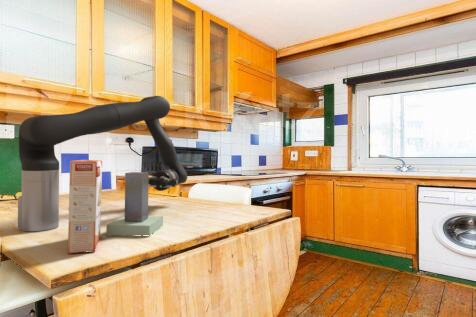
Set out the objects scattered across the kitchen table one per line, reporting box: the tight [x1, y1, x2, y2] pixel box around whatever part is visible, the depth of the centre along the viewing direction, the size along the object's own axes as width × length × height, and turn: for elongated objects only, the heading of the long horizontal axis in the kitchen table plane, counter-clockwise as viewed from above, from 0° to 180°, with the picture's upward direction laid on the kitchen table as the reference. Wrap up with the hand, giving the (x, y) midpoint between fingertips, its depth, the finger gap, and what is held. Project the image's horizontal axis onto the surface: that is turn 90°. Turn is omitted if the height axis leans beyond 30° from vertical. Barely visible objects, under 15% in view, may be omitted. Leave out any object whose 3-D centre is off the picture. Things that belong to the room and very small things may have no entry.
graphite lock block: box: [124, 171, 150, 222], centre depth 85 cm, size 5×5×14 cm
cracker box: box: [67, 159, 103, 255], centre depth 71 cm, size 14×6×21 cm, turn 21°
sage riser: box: [105, 215, 164, 237], centre depth 85 cm, size 12×12×3 cm
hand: (149, 184), depth 96 cm, fingers open, 8 cm apart
